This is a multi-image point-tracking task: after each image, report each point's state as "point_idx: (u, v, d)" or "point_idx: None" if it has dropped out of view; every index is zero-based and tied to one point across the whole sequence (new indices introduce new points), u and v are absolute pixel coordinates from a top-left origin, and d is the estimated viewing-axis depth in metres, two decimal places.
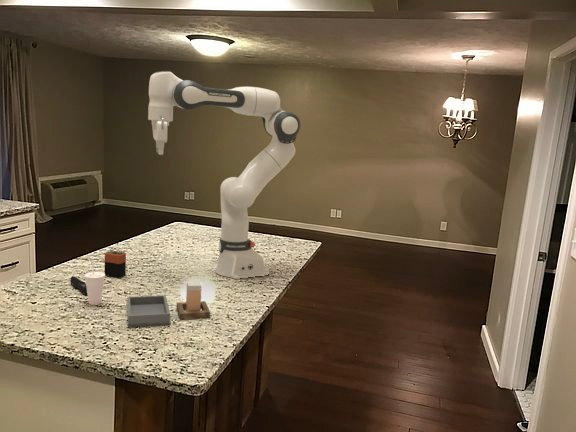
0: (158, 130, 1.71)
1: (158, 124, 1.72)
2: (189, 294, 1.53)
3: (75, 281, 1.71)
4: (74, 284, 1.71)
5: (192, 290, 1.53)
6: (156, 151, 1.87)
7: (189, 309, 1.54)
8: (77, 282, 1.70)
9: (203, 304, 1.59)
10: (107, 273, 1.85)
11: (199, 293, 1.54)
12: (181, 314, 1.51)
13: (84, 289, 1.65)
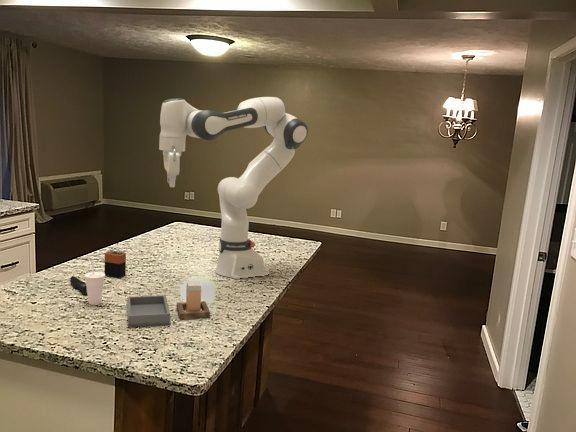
0: (170, 162, 1.60)
1: (170, 156, 1.61)
2: (189, 294, 1.53)
3: (74, 281, 1.71)
4: (74, 284, 1.71)
5: (192, 290, 1.53)
6: None
7: (189, 309, 1.54)
8: (77, 282, 1.70)
9: (203, 304, 1.59)
10: (107, 273, 1.85)
11: (199, 293, 1.54)
12: (181, 314, 1.51)
13: (83, 289, 1.65)
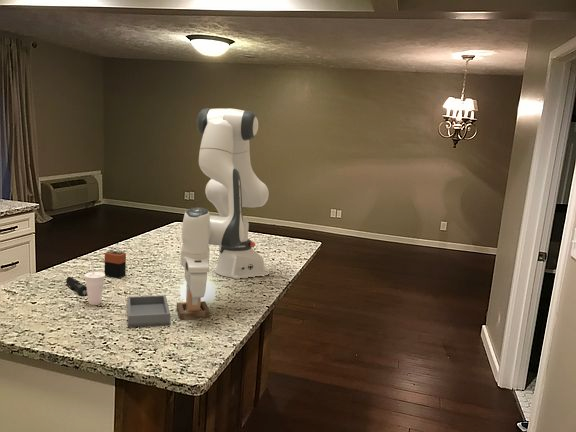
0: None
1: None
2: (189, 294, 1.53)
3: (71, 282, 1.71)
4: (70, 285, 1.70)
5: None
6: None
7: (189, 309, 1.54)
8: (73, 283, 1.69)
9: (203, 304, 1.59)
10: (107, 273, 1.85)
11: None
12: (181, 314, 1.51)
13: (80, 290, 1.64)
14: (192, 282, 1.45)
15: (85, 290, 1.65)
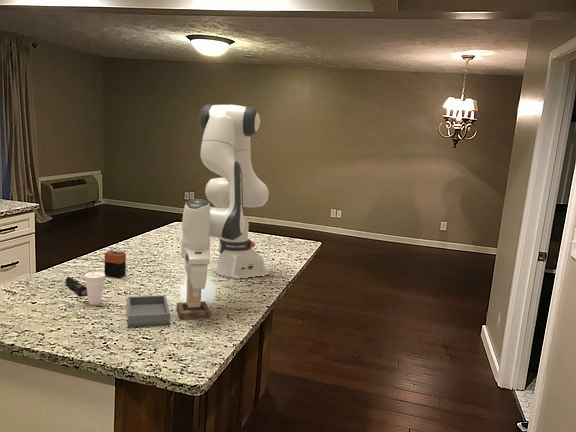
0: None
1: None
2: (190, 286, 1.53)
3: (70, 282, 1.70)
4: (69, 285, 1.70)
5: None
6: (197, 294, 1.53)
7: (190, 301, 1.54)
8: (72, 283, 1.69)
9: (203, 304, 1.59)
10: (107, 273, 1.85)
11: None
12: (181, 314, 1.51)
13: (79, 290, 1.64)
14: (192, 274, 1.44)
15: (84, 290, 1.64)
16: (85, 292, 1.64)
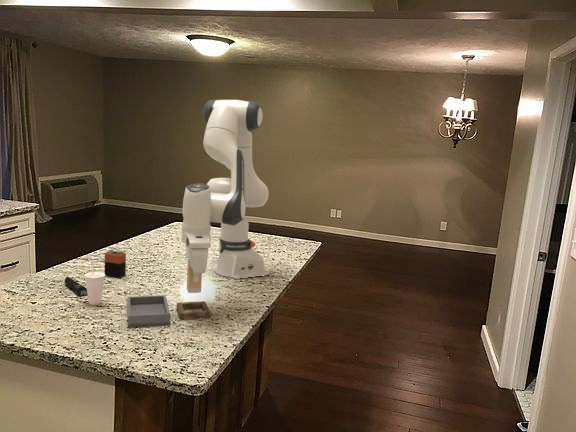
0: None
1: None
2: (190, 271, 1.52)
3: (69, 282, 1.70)
4: (68, 285, 1.70)
5: None
6: None
7: (190, 286, 1.53)
8: (71, 283, 1.69)
9: (203, 304, 1.59)
10: (107, 273, 1.85)
11: None
12: (181, 314, 1.51)
13: (78, 290, 1.64)
14: (193, 257, 1.43)
15: (83, 290, 1.64)
16: (84, 292, 1.64)
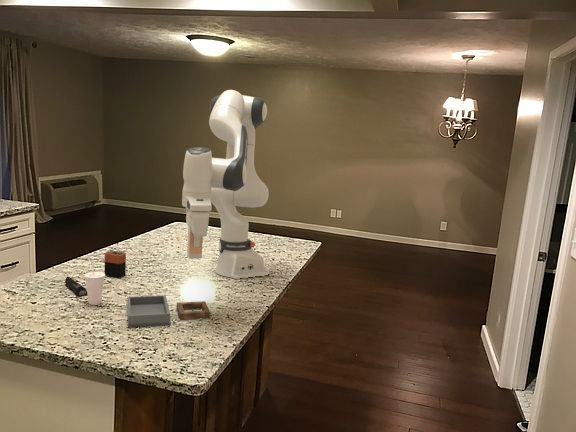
0: None
1: None
2: (191, 236, 1.49)
3: (69, 282, 1.70)
4: (68, 285, 1.70)
5: None
6: None
7: (191, 251, 1.50)
8: (71, 283, 1.69)
9: (203, 304, 1.59)
10: (107, 273, 1.85)
11: None
12: (181, 314, 1.51)
13: (77, 290, 1.64)
14: (194, 220, 1.41)
15: (82, 290, 1.64)
16: (83, 292, 1.64)
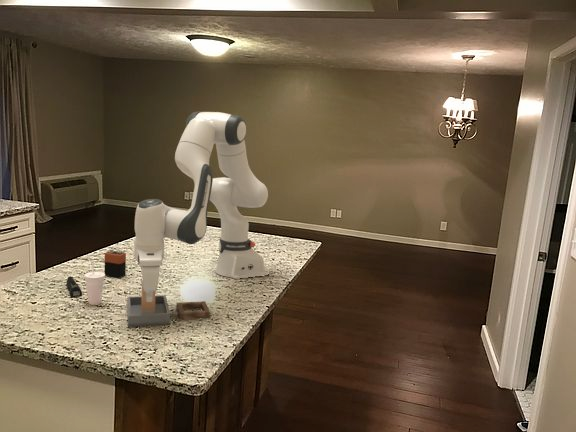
0: None
1: None
2: (143, 293, 1.48)
3: (68, 282, 1.71)
4: (67, 284, 1.70)
5: None
6: None
7: (143, 308, 1.49)
8: (69, 283, 1.69)
9: (203, 304, 1.59)
10: (107, 273, 1.85)
11: (153, 292, 1.49)
12: (181, 314, 1.51)
13: (71, 290, 1.63)
14: (143, 276, 1.40)
15: (76, 291, 1.63)
16: (77, 293, 1.63)
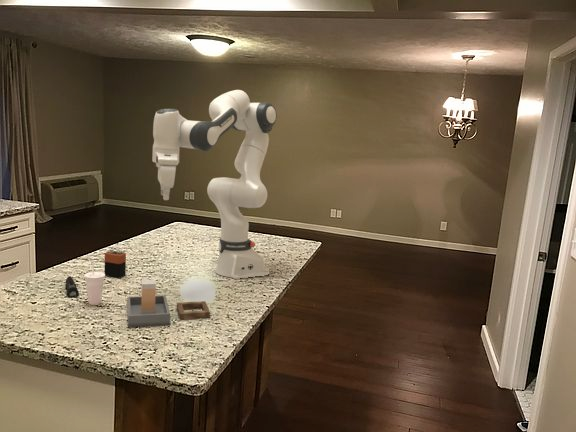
0: None
1: None
2: (143, 293, 1.48)
3: (67, 282, 1.70)
4: (66, 284, 1.70)
5: (146, 289, 1.48)
6: (168, 199, 1.63)
7: (143, 308, 1.49)
8: (68, 283, 1.69)
9: (203, 304, 1.59)
10: (107, 273, 1.85)
11: (153, 292, 1.49)
12: (181, 314, 1.51)
13: (68, 290, 1.63)
14: (161, 172, 1.56)
15: (73, 291, 1.63)
16: (73, 293, 1.63)
